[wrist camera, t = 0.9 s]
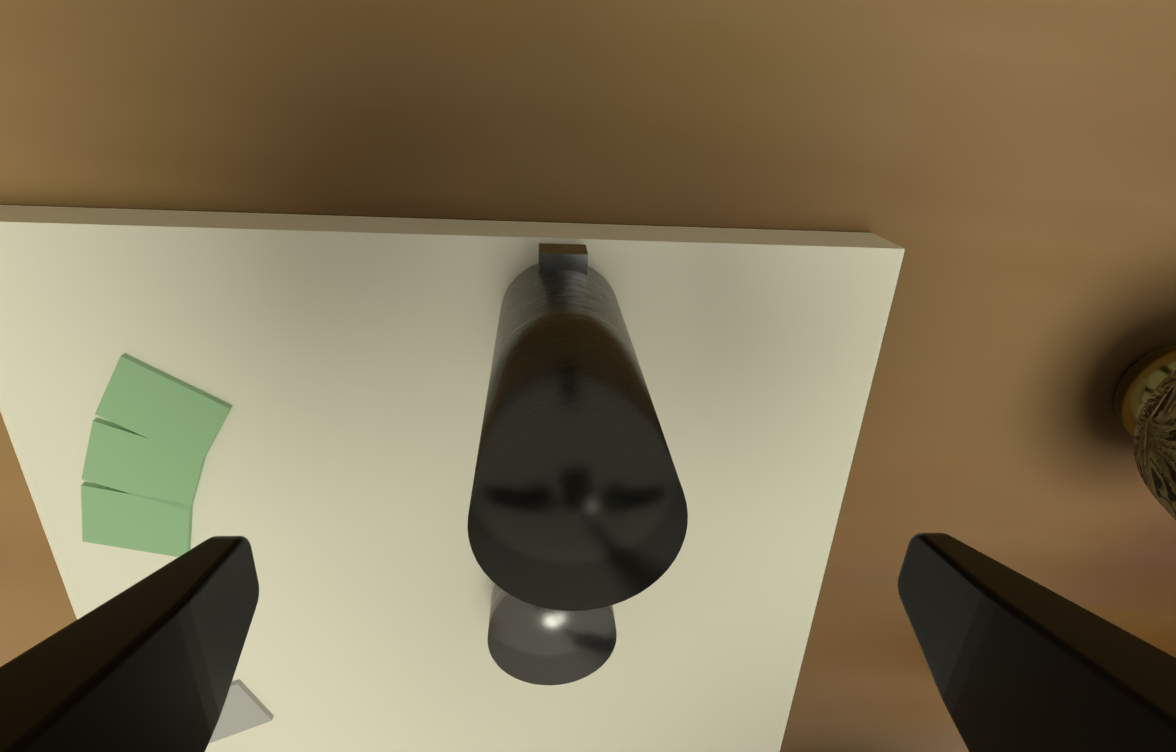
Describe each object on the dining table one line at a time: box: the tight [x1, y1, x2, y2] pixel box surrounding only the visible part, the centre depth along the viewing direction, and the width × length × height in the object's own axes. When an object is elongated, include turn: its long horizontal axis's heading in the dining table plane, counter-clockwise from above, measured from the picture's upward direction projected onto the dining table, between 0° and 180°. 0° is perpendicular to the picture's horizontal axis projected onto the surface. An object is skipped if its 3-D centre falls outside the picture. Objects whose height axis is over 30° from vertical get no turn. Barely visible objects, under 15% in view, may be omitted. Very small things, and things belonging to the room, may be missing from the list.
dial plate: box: [0, 205, 905, 752], centre depth 23 cm, size 22×25×2 cm
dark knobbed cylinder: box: [467, 243, 688, 685], centre depth 16 cm, size 14×4×9 cm, turn 177°
